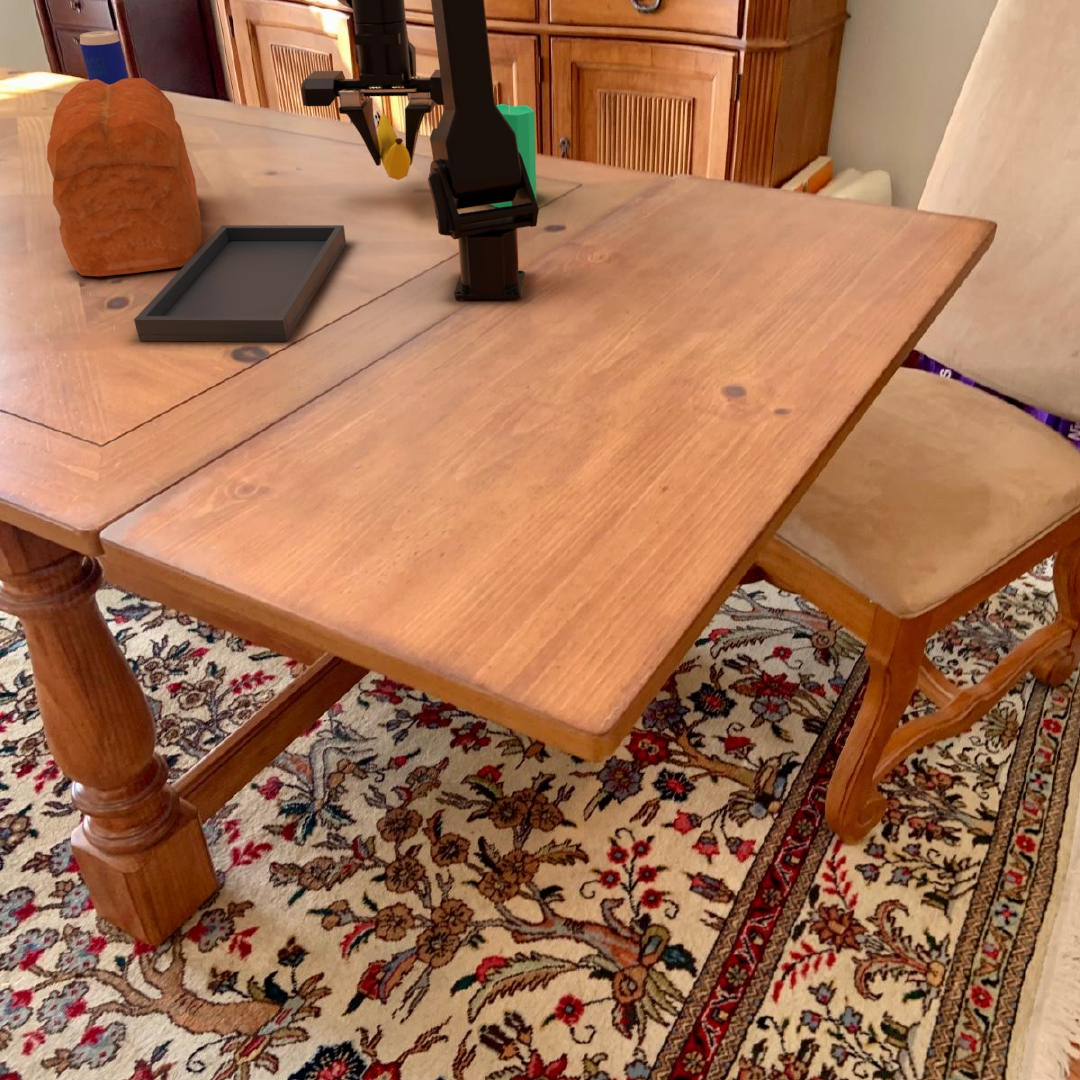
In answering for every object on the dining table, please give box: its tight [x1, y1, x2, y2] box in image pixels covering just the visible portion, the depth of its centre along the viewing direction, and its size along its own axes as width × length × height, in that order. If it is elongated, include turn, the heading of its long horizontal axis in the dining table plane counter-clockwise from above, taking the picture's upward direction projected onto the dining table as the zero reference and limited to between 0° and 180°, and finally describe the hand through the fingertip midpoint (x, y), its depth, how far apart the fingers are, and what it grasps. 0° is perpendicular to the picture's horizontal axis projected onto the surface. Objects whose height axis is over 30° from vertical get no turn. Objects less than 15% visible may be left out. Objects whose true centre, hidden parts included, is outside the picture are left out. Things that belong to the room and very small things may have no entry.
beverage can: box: [79, 30, 129, 85], centre depth 143 cm, size 5×5×15 cm
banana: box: [377, 113, 411, 181], centre depth 121 cm, size 3×19×6 cm, turn 13°
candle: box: [489, 94, 537, 208], centre depth 121 cm, size 6×6×12 cm
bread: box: [46, 77, 204, 277], centre depth 112 cm, size 14×27×15 cm, turn 18°
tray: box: [133, 224, 347, 343], centre depth 102 cm, size 26×14×2 cm, turn 177°
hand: (394, 164), depth 122 cm, fingers closed on banana, 3 cm apart
